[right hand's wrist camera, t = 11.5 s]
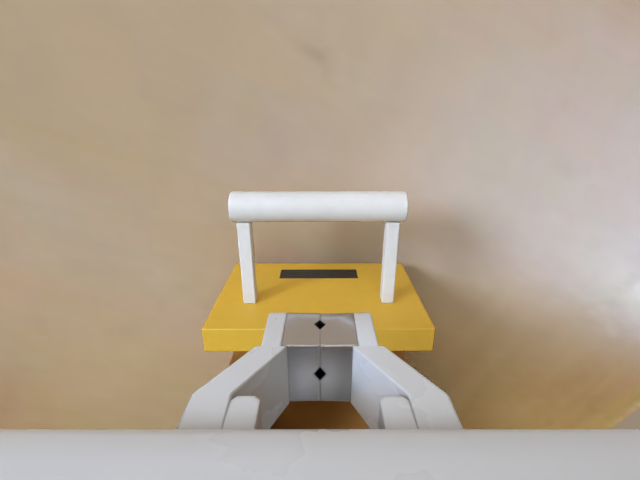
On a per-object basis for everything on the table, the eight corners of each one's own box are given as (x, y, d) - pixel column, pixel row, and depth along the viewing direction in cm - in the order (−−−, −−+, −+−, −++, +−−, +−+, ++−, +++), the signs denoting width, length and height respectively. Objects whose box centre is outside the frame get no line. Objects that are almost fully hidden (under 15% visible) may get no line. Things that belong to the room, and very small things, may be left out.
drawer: (227, 173, 19) (182, 206, 13) (409, 173, 19) (453, 205, 13) (253, 443, 27) (233, 547, 21) (385, 443, 27) (405, 547, 21)
